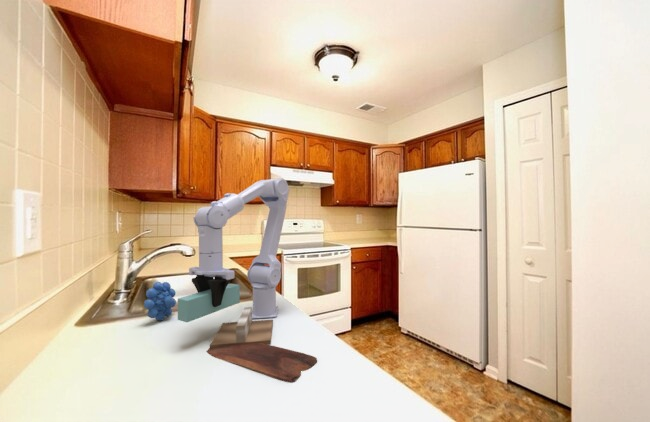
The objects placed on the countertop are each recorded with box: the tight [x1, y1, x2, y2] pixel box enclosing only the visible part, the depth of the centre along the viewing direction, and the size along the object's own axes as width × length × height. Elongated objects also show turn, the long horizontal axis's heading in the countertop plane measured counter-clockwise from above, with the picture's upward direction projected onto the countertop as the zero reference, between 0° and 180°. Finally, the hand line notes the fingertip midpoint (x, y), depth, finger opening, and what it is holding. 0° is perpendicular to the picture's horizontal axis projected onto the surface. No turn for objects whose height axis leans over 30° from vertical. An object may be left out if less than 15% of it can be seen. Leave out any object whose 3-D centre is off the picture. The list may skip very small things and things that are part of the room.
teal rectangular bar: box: [177, 283, 241, 323], centre depth 70 cm, size 16×4×5 cm, turn 151°
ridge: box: [209, 306, 274, 349], centre depth 71 cm, size 14×14×5 cm
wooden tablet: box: [206, 343, 318, 383], centre depth 60 cm, size 26×2×10 cm
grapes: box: [143, 281, 177, 322], centre depth 82 cm, size 12×7×12 cm, turn 170°
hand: (211, 304), depth 70 cm, fingers closed on teal rectangular bar, 4 cm apart
